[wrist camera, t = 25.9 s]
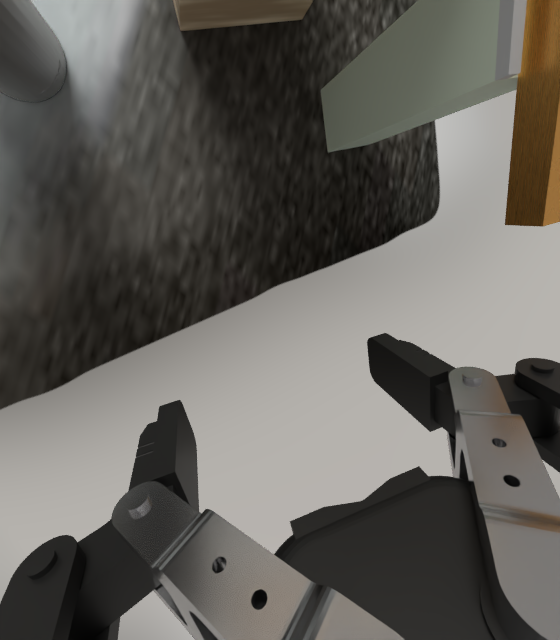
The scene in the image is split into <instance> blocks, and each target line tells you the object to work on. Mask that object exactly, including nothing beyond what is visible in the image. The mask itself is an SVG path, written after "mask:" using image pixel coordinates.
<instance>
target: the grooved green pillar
mask: <svg viewBox="0 0 560 640" xmlns="http://www.w3.org/2000/svg"><path fill="white" fill-rule="evenodd" d="M526 5H527V0H418V1H417V2H416V3H415V4H414V5H413V6H412V7H410V8H409V9H408V10H407V11H406V12H405V13H404V14H403V15H402V16H401V17H400V18H398V19H397V20H396V21H395V22H394V23H393V24H392V25H391V26H390V27H389V28H388V29H387V30H385V31H384V32H383V33H382V34H381V35H380V36H379V37H378V38H377V39H376V40H375V41H374V42H372V43H371V44H370V45H369V46H368V47H367V48H366V49H365V50H364V51H363V52H362V53H360V54H359V55H358V56H357V57H356V58H355V59H354V60H353V61H352V62H351V63H350V64H349V65H347V66H346V67H345V68H344V69H343V70H342V71H341V72H340V73H339V74H338V75H337V76H335V77H334V78H333V79H332V80H331V81H330V82H329V83H328V84H327V85H326V86H325V87H324V88H322V89H321V90H320V91H321V99H322V108H323V116H324V125H325V134H326V142H327V151H328V152H333V151H339V150H344V149H349V148H355V147H360V146H365V145H369V144H372V143H375V142H377V141H380V140H383V139H385V138H388V137H391V136H393V135H396V134H399V133H401V132H404V131H407V130H409V129H412V128H415V127H417V126H420V125H423V124H425V123H428V122H431V121H433V120H436V119H439V118H441V117H444V116H447V115H449V114H452V113H455V112H457V111H460V110H462V109H465V108H468V107H471V106H473V105H476V104H479V103H481V102H484V101H487V100H489V99H492V98H495V97H497V96H500V95H503V94H505V93H508V92H511V91H513V90H516V89H517V80H518V74H519V73H520V72H521V61H522V50H523V39H524V27H525V16H526Z"/></svg>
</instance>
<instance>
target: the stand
mask: <svg viewBox="0 0 560 640" xmlns="http://www.w3.org/2000/svg"><path fill="white" fill-rule="evenodd" d="M312 2H313V0H173V3H174V7H175V11H176V15H177V19H178V23H179V27H180V31H189V30H199V29H210V28H220V27H231V26H241V25H252V24H262V23H273V22H283V21H294V20H302V19H303V17H304V15H305V14H306V12H307V10H308V9H309V7H310V5H311V4H312Z"/></svg>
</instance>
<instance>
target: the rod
mask: <svg viewBox="0 0 560 640" xmlns="http://www.w3.org/2000/svg"><path fill="white" fill-rule="evenodd" d="M556 222H560V0H527V5H526V16H525V27H524V39H523V50H522V61H521V72H520V73H519V74H518V80H517V93H516V105H515V115H514V128H513V139H512V150H511V161H510V173H509V184H508V197H507V208H506V219H505V225H520V226H546V225H549V224H553V223H556Z"/></svg>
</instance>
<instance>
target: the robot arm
mask: <svg viewBox="0 0 560 640" xmlns="http://www.w3.org/2000/svg"><path fill="white" fill-rule="evenodd" d="M65 75H66V60H65V56H64V52H63V49H62V47H61V44H60V42H59V40H58V38H57V37H56V35H55V34H54V32H53V30H52V29H51V28H50V26H49V25H48V24H47V22H46V21H45V20H44V18H43V17H42V15H41V14H40V13H39V11H38V10H37V8H36V7H35V6H34V4H33V3H32V2H31V0H0V92H2V93H4V94H6V95H8V96H10V97H12V98H15V99H18V100H21V101H27V102H40V101H44V100H47V99H49V98H51V97H52V96H54V95H55V94H56V93H57V92H58V91H59V90H60V89H61V87H62V85H63V83H64V80H65ZM367 345H368V356H369V366H370V373H371V375H372V378H373V379H374V381H375V382H376V383H377V384H378V385H379V386H380V387H381V388H382V389H383V390H384V391H386V392H387V393H388V394H389V395H390V396H391V397H392V398H393V399H395V400H396V401H397V402H398V403H399V404H400V405H401V406H402V407H404V409H405V410H407V411H408V412H409V413H410V414H411V415H412V416H413V417H414V418H416V419H417V420H418V421H419V422H420V423H421V424H422V425H423V426H424V427H426V428H427V429H428V430H429V431H430V432H431V431H433V430H436V429H438V428H441V427H443V428H444V429H445V430H446V431H447V432H448V434H447V439H448V445H449V452H450V459H451V466H452V473H453V477H448V476H427V475H426V473H424V471H423V470H422V469H421V468H420V467H417V468H414V469H412V470H409V471H407V472H405V473H402V474H400V475H398V476H395V477H393V478H391V479H389V480H388V481H386V482H385V483H384V484H383V485H382V486H380V487H379V488H378V489H377V490H376V491H374V492H373V493H372V494H371V495H369V496H368V497H367V498H366V499H365V500H363V501H360V502H354V503H348V504H341V505H334V506H328V507H323V508H321V509H318V510H316V511H314V512H311V513H309V514H307V515H304V516H302V517H300V518H297V519H295V520H293V521H290V523H291V527H292V531H293V535H292V536H291V537H289V538H288V539H287V540H286V541H285V542H284V543H283V544H282V545H281V546H280V547H279V549H278V550H277V551H276V553H275V554H272V553H271V552H270V551H268V550H267V549H265V548H264V547H263V546H261V545H260V544H258V543H257V542H256V541H254V540H253V539H251V538H250V537H249V536H247V535H246V534H244V533H243V532H242V531H240V530H239V529H237V528H236V527H235V526H233V525H232V524H230V523H229V522H227V521H226V520H225V519H223V518H222V517H221V516H219V515H218V514H216V513H215V512H213V511H212V510H209V509H206V510H205V511H204V512H203V513H202V514H201V513H200V512H199V500H198V476H197V475H198V474H197V450H196V441H195V437H194V433H193V430H192V428H191V425H190V422H189V420H188V418H187V415H186V412H185V410H184V407H183V404H182V402H181V401H180V400H178V401H175V402H171V403H168V404H165V405H162V406H160V407H159V412H158V419H157V421H156V422H153V423H150V424H148V425H147V427H146V428H145V429H144V431H143V433H142V434H141V435H140V439H139V444H138V449H137V453H136V459H135V463H134V468H133V472H132V477H131V482H130V487H129V491H128V492H127V493H126V494H125V495H124V496H123V497H122V498H121V499H120V500H119V502H118V503H117V504H116V506H115V508H114V510H113V513H112V519H111V520H110V521H108V522H107V523H106V524H105V525H103V526H102V527H101V528H99V529H98V530H96V531H95V532H93V533H91V534H90V535H88V536H87V537H85V538H84V539H82V540H81V541H79V542H77V541H76V540H75V539H74V537H72V536H68V535H63V536H58V537H56V538H53V539H51V540H49V541H47V542H46V543H44V544H42V545H41V546H39V547H38V548H37V549H35V550H34V551H33V552H32V553H31V554H30V555H29V556H28V557H27V558H26V559H25V560H24V561H23V562H22V563H21V564H20V566H19V567H18V568H17V570H16V571H15V573H14V574H13V576H12V578H11V580H10V582H9V585H8V587H7V590H6V592H5V594H4V596H3V599H2V601H1V604H0V640H117V639H118V631H119V622H120V616H122V615H123V614H124V613H125V612H127V611H128V610H129V609H130V608H132V607H133V606H134V605H135V604H137V603H138V602H139V601H140V600H142V599H143V598H144V597H145V596H147V595H148V594H149V593H150V592H151V591H154V592H155V593H156V594H157V595H158V596H159V598H160V599H161V600H162V601H163V602H164V604H165V605H166V606H167V607H168V608H169V609H170V611H171V612H172V613H173V614H174V615H175V616H176V618H177V619H178V620H179V621H180V622H181V623H182V625H183V626H184V627H185V628H186V629H187V630H188V632H189V633H190V634H191V635H192V637H193V638H194V639H195V640H560V499H559V496H558V494H557V492H556V490H555V488H554V485H553V483H552V481H551V479H550V477H549V474H548V472H547V470H546V468H545V466H544V463H543V461H542V460H544V461H545V462H546V463H548V464H549V465H550V466H552V467H553V468H554V469H556V470H557V471H558V472H560V363H557V362H555V361H551V360H547V359H540V358H528V359H523V360H520V361H518V362H517V363H516V367H515V374H510V375H501V376H494V375H493V374H492V373H490V372H488V371H486V370H484V369H480V368H475V367H460V368H454V367H452V366H451V365H449V364H447V363H446V362H444V361H442V360H440V359H439V358H437V357H435V356H433V355H432V354H429V353H428V352H427V351H425V350H422V349H421V348H420V347H418V346H416V345H414V344H413V343H410V342H406V341H401V340H399V341H398V340H397V339H395V338H394V337H392V336H390V335H388V334H386V333H384V334H381V335H378V336H374V337H371V338H369V339H368V342H367Z"/></svg>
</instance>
